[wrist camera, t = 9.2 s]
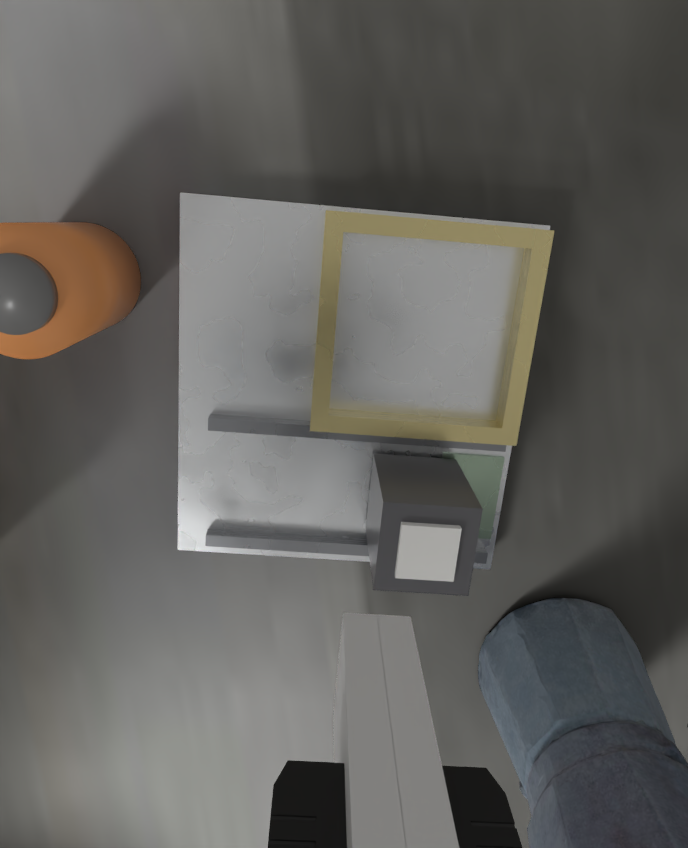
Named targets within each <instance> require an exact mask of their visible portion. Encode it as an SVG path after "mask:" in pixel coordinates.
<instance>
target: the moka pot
mask: <svg viewBox="0 0 688 848" xmlns="http://www.w3.org/2000/svg"><path fill="white" fill-rule="evenodd" d="M478 678H479V686H480V689H481V691H482V694H483V696H484V698H485V701H486V703H487V705H488V707H489V710H490V712H491V714H492V717H493V719H494V721H495V724H496V726H497V728H498V730H499V733H500V735H501V737H502V739H503V742H504V744H505V747H506V749H507V751H508V754H509V756H510V758H511V760H512V763H513V765H514V768H515V770H516V772H517V775H518V777H519V779H520V782H519V785H520V790H521V792H522V794H523V795H524V796H525V798H526V799H528V803H529V807H530V811H531V815H532V817H531V820H530V823H529V825H528V828H527V832H528V840H529V847H530V848H688V763H687V762H686V760H685V758H684V757H683V755H682V754H681V752H680V751H679V749H678V748H677V747H676V744H675V740H674V738H673V735H672V733H671V730H670V728H669V725H668V723H667V720H666V717H665V715H664V712H663V710H662V707H661V705H660V703H659V700H658V698H657V696H656V693H655V691H654V689H653V686H652V684H651V681H650V679H649V676H648V674H647V671H646V668H645V666H644V663H643V660H642V658H641V655H640V652H639V650H638V648H637V646H636V644H635V642H634V641H633V639H632V638H631V636H630V635H629V633H628V632H627V630H626V629H625V627H624V626H623V624H622V623H621V622H620V620H619V619H618V618H617V616H616V615H615V613H614V611H613V610H611V609H610V608H607V607H604V606H602V605H599V604H597V603H592V602H590V601H586V600H581V599H571V598H552V599H547V600H543V601H539V602H536V603H532V604H529V605H526V606H524V607H522V608H519V609H516V610H515V611H513V612H511V613H509V614H508V615H507V616H506V617H504V618H503V619H502V620H501V621H500V622H499V623H498V625H497V626H496V627H495V628H494V629H493V630H492V631H491V632H490V633H489V634H488V635H487V636H486V638H485V640H484V642H483V644H482V647H481V650H480V654H479V665H478ZM687 727H688V726H687Z"/></svg>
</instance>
